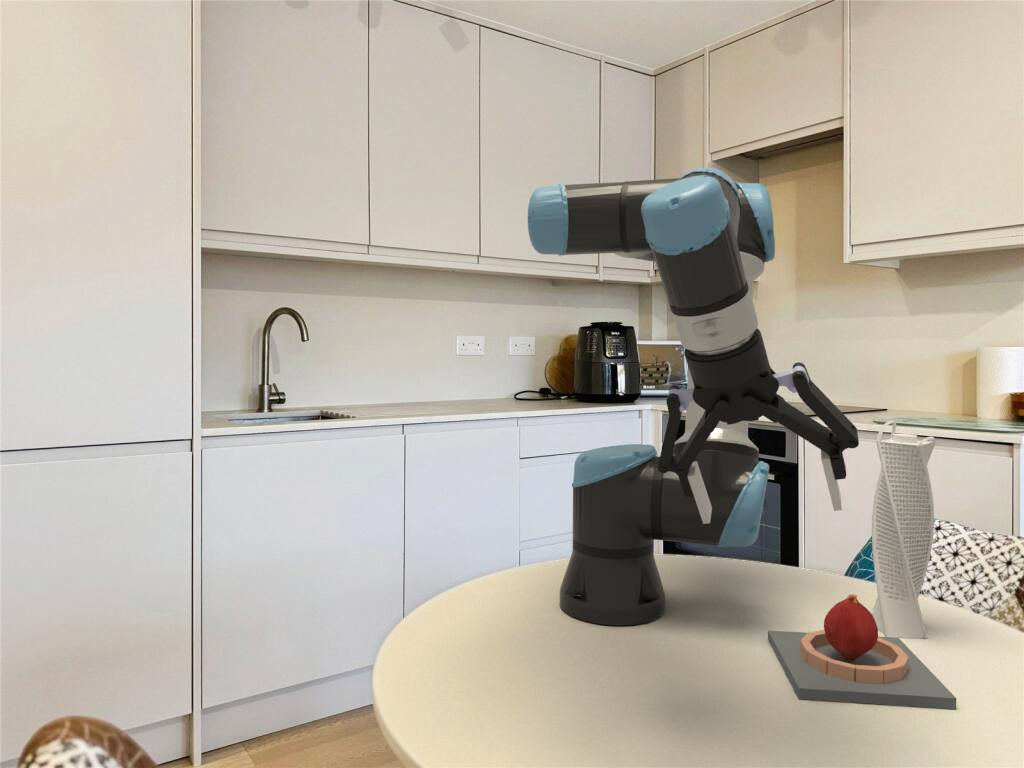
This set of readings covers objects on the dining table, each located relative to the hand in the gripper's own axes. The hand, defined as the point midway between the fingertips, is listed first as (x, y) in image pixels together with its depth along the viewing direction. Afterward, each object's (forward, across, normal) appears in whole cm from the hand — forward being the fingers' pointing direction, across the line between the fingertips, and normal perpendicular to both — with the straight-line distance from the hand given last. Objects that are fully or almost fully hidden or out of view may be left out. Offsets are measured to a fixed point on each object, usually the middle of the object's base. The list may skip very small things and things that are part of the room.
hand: (770, 509), depth 81 cm
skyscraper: (+33, +9, +14) cm, 37 cm away
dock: (+24, +4, 0) cm, 25 cm away
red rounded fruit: (+23, +4, 0) cm, 24 cm away
